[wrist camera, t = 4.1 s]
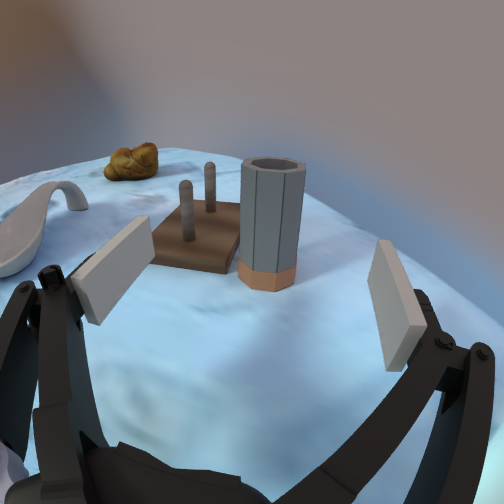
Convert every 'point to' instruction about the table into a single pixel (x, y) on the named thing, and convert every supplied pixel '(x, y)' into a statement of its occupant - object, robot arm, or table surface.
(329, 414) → the table surface
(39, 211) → the spoon rest
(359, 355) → the table surface
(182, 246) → the pin board
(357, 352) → the table surface
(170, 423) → the table surface
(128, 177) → the bread roll
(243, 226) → the sleeve
